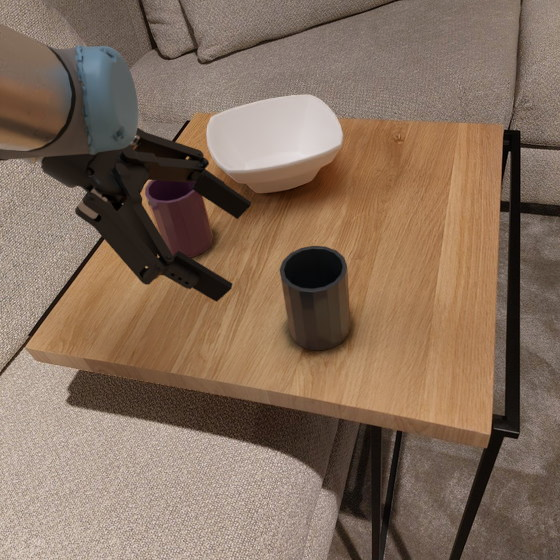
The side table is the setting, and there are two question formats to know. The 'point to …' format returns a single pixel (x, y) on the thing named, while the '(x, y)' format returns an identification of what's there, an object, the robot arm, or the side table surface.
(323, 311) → the slate cup
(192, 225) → the plum cup
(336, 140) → the bowl
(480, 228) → the side table surface
